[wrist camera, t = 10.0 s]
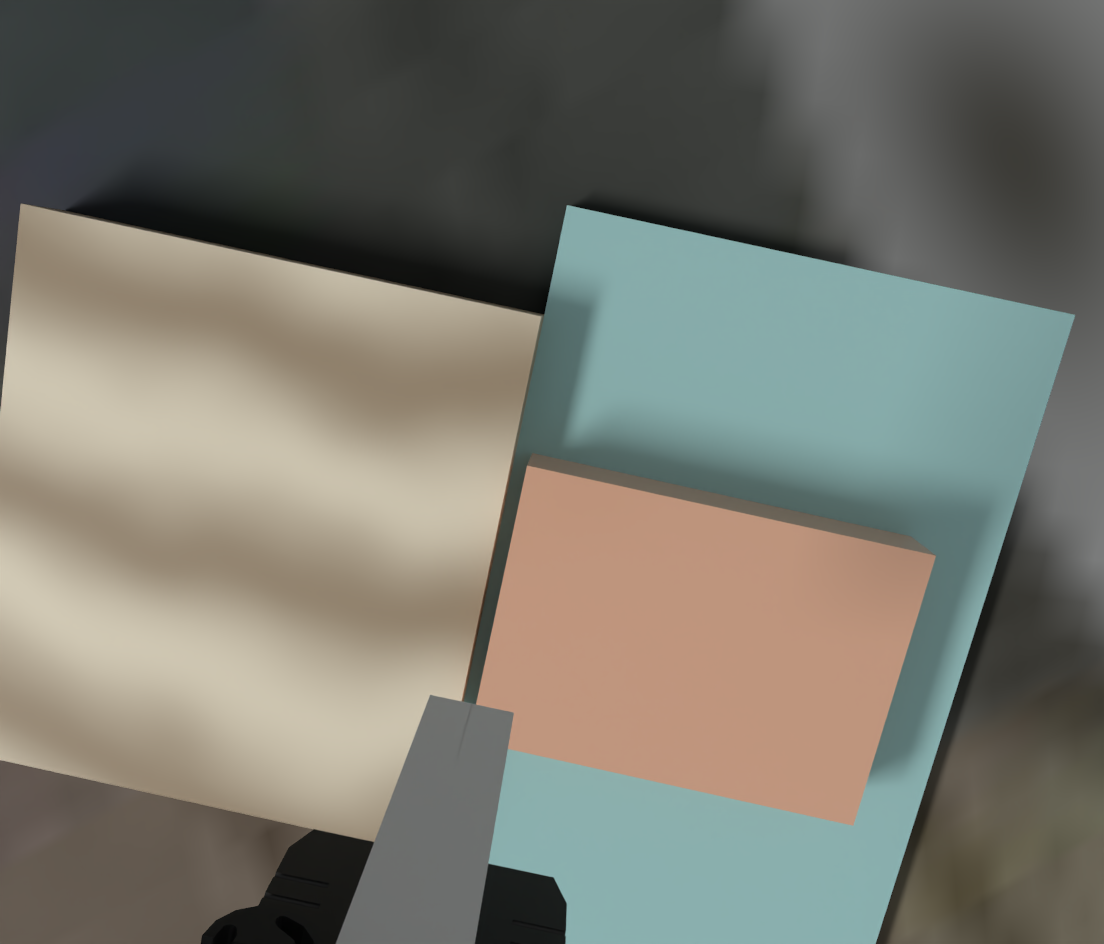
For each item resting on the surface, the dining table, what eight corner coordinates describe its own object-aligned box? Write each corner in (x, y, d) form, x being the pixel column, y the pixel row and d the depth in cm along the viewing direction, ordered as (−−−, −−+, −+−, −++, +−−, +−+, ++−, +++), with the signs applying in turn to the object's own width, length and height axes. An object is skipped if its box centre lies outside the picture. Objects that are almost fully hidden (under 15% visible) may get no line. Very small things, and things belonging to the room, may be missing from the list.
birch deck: (63, 210, 27) (20, 203, 25) (545, 314, 26) (541, 316, 25) (9, 722, 30) (-33, 752, 28) (440, 817, 30) (429, 855, 28)
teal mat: (567, 206, 26) (567, 205, 25) (1064, 314, 26) (1075, 314, 25) (423, 900, 30) (419, 912, 30) (850, 995, 30) (854, 1009, 29)
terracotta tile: (532, 453, 27) (526, 465, 25) (911, 536, 27) (935, 555, 25) (477, 709, 28) (468, 740, 26) (835, 788, 28) (853, 825, 26)
